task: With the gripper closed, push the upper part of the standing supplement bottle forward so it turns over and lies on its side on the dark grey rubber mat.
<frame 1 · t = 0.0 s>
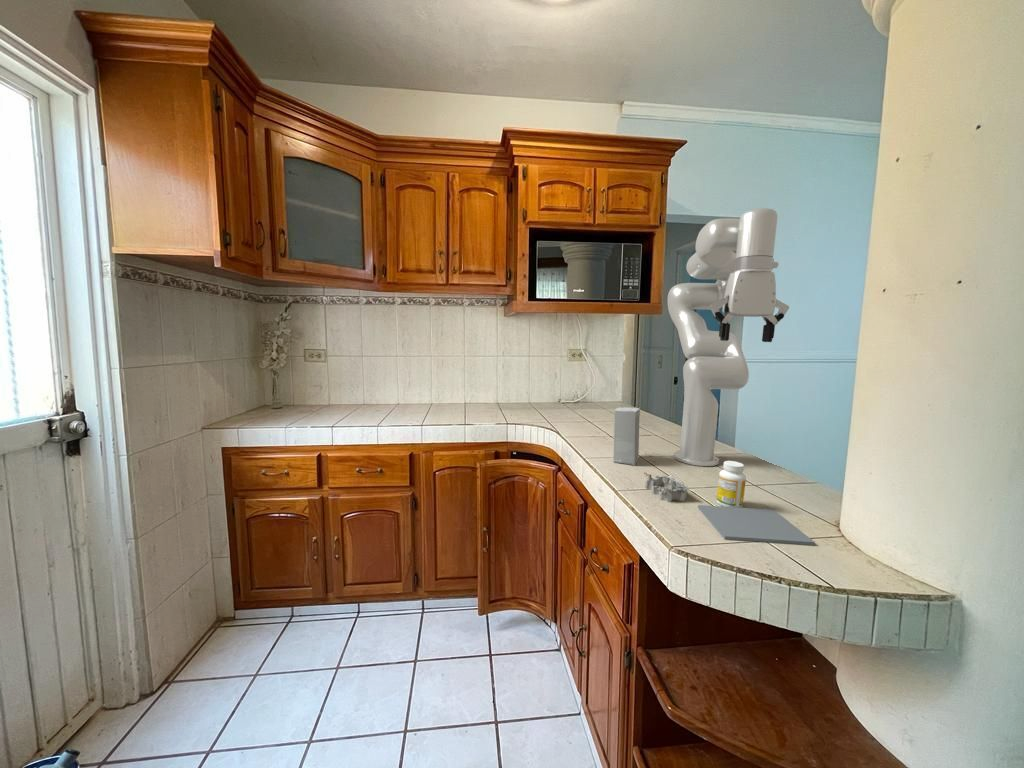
hand: (745, 341, 97), 37 cm above the worktop, fingers open, 9 cm apart
skincare box: (624, 460, 123), on the worktop
supplement bottle: (729, 505, 93), on the worktop
mat: (750, 524, 83), on the worktop
egg carton: (665, 494, 99), on the worktop
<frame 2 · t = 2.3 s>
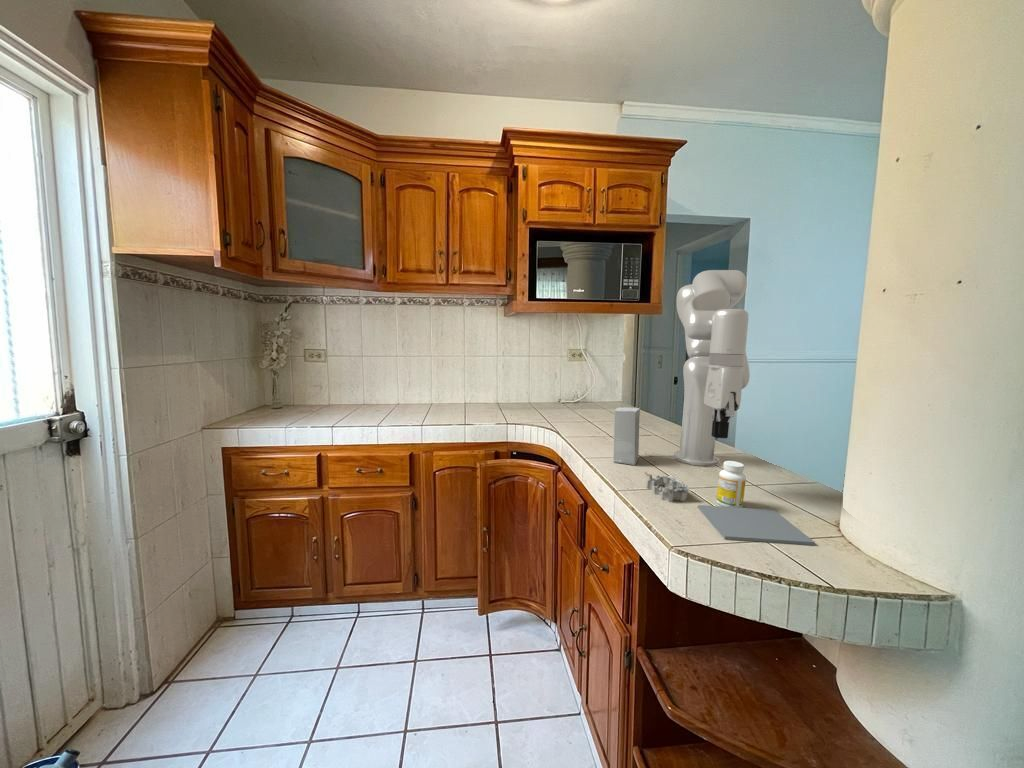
hand: (719, 437, 100), 13 cm above the worktop, fingers closed
nothing on the worktop moved.
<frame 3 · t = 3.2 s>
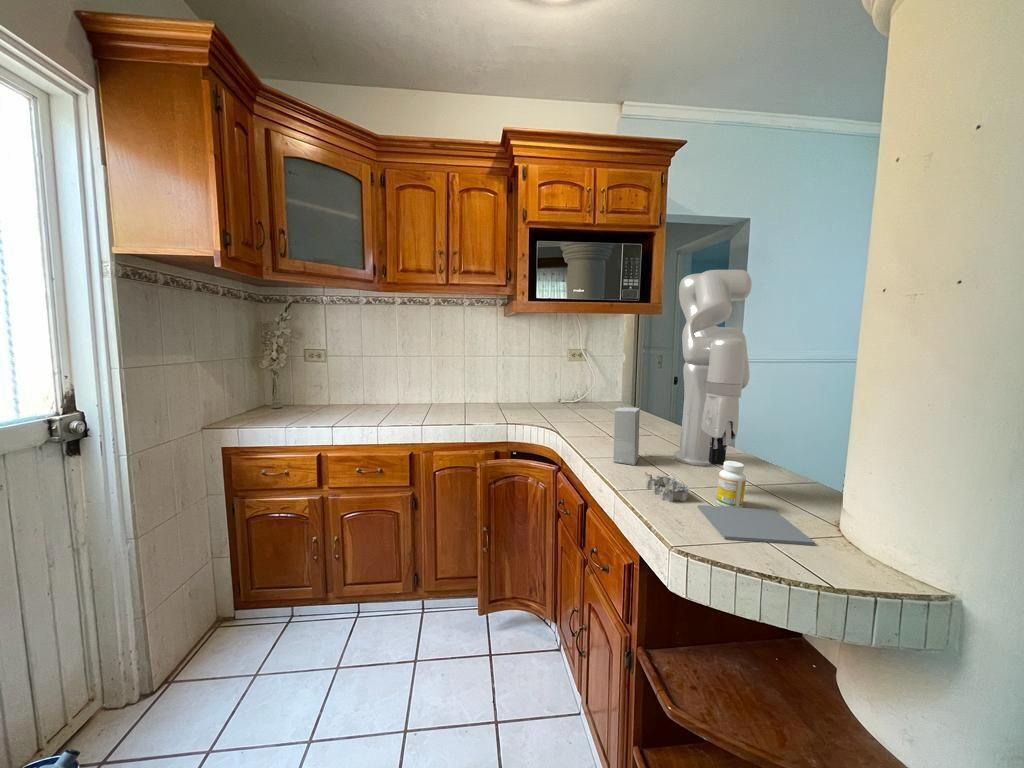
hand: (716, 463, 101), 7 cm above the worktop, fingers closed
nothing on the worktop moved.
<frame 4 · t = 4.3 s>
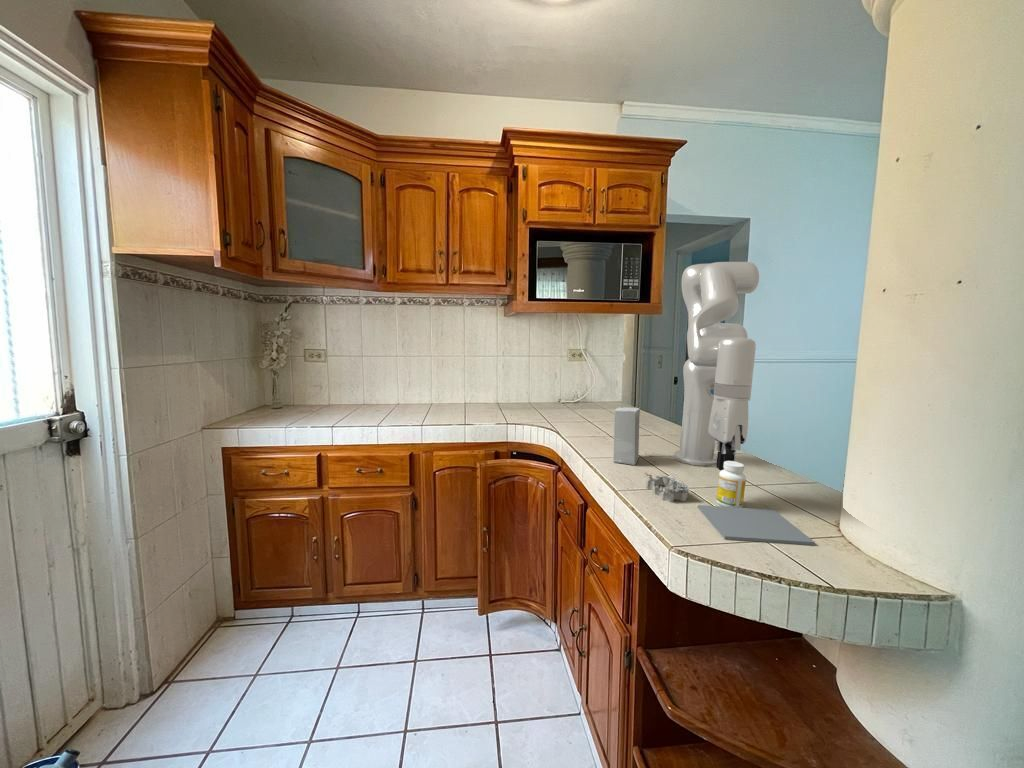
hand: (724, 469, 96), 7 cm above the worktop, fingers closed
supplement bottle: (729, 505, 93), on the worktop, touching gripper
everything else where it was.
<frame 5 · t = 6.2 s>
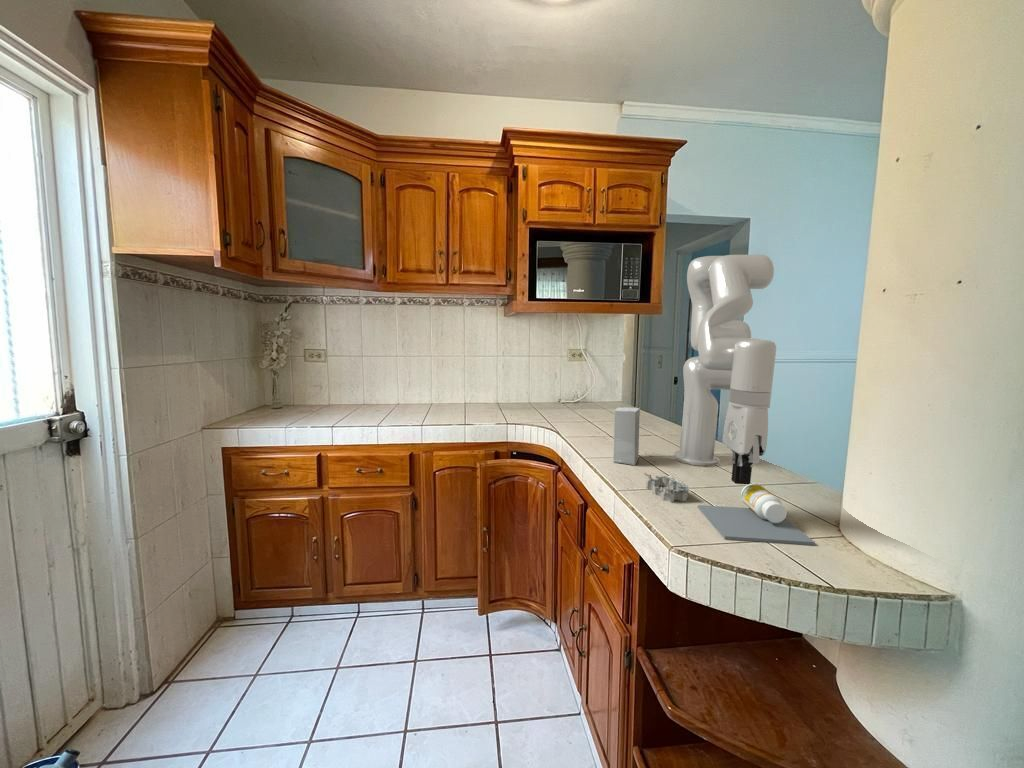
hand: (740, 482, 88), 7 cm above the worktop, fingers closed
supplement bottle: (752, 494, 91), point 3 cm above the worktop, touching mat
everything else where it was.
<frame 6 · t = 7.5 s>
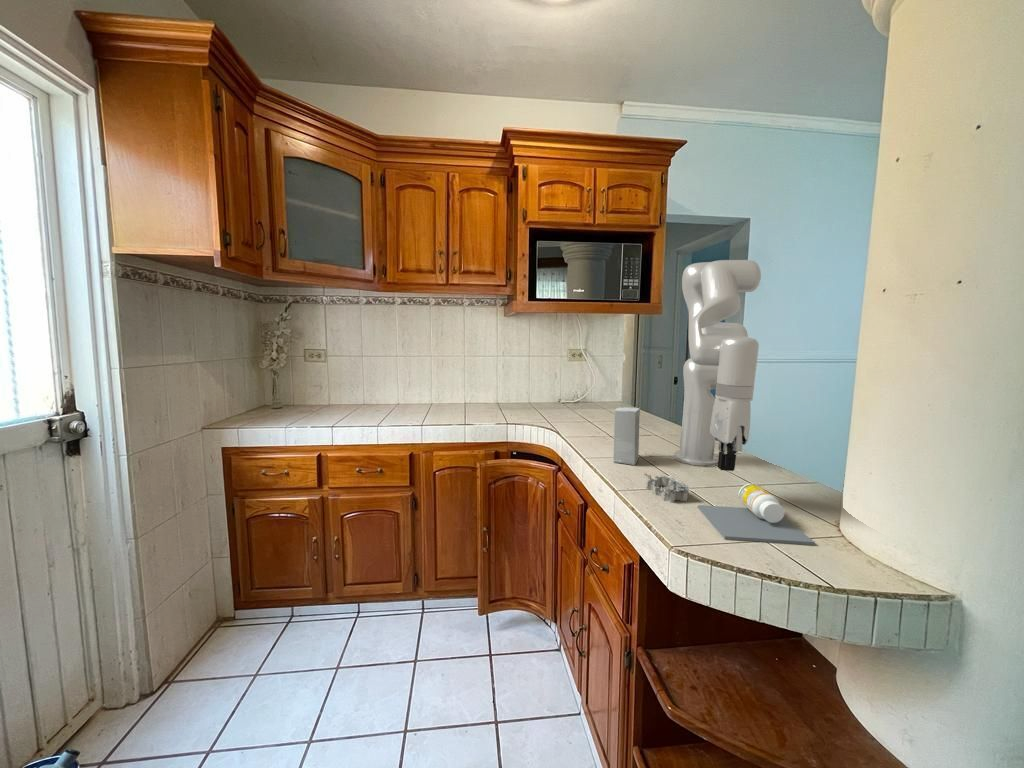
hand: (725, 469, 96), 7 cm above the worktop, fingers closed
nothing on the worktop moved.
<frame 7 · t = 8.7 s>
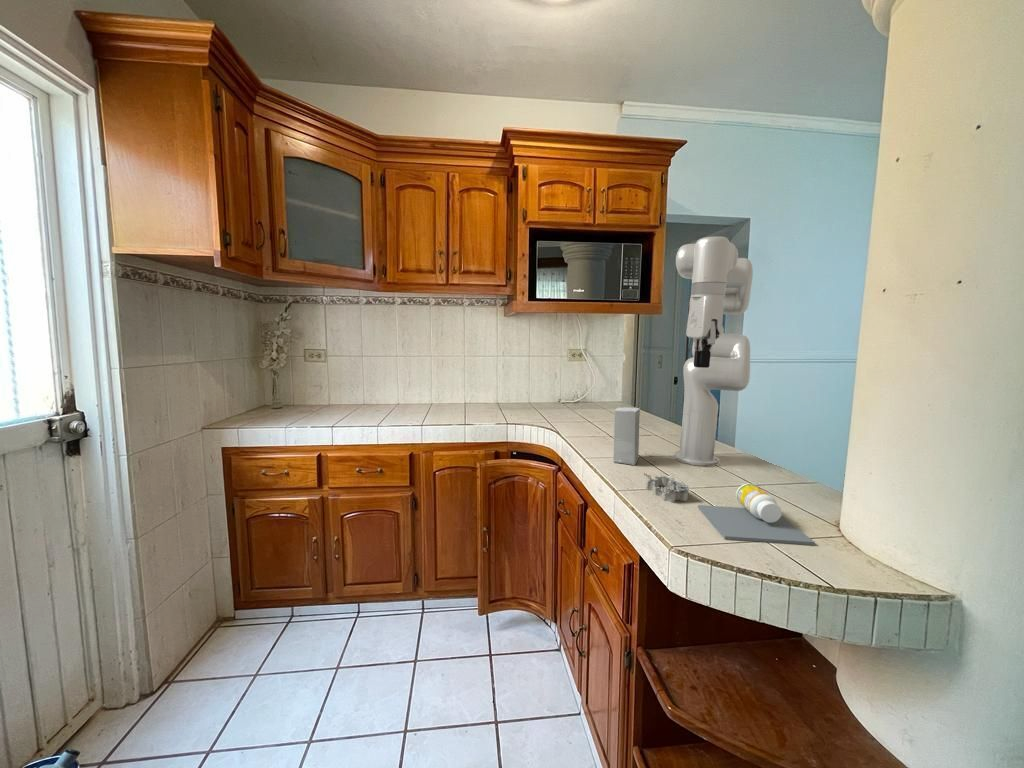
hand: (701, 367, 102), 30 cm above the worktop, fingers closed
nothing on the worktop moved.
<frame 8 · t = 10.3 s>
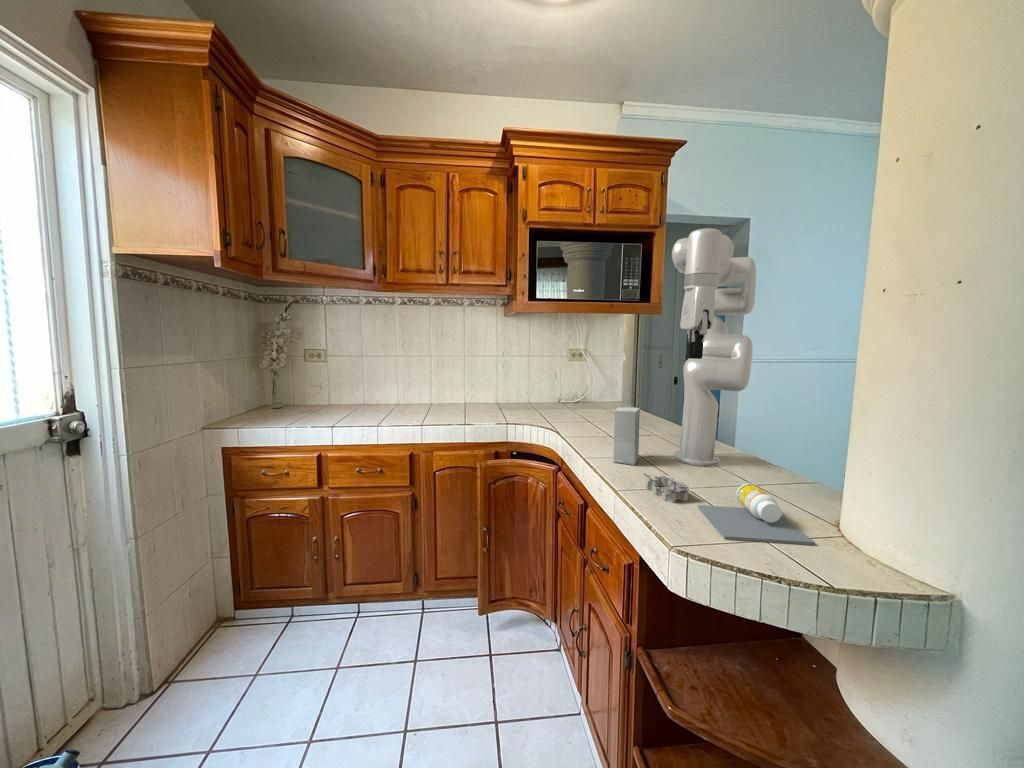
hand: (694, 358, 102), 32 cm above the worktop, fingers closed
nothing on the worktop moved.
at the end: supplement bottle tilted 90°; supplement bottle touching mat; supplement bottle inside the target area (7.2 cm from its centre), point 3.2 cm above the worktop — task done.
